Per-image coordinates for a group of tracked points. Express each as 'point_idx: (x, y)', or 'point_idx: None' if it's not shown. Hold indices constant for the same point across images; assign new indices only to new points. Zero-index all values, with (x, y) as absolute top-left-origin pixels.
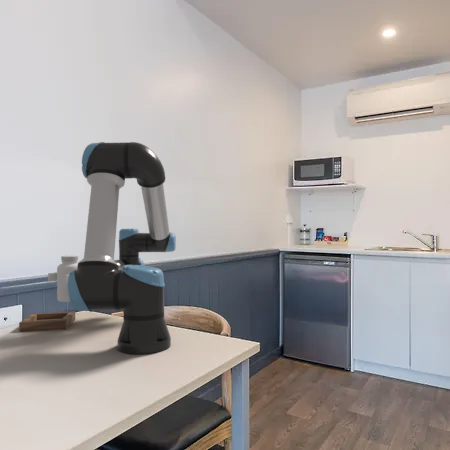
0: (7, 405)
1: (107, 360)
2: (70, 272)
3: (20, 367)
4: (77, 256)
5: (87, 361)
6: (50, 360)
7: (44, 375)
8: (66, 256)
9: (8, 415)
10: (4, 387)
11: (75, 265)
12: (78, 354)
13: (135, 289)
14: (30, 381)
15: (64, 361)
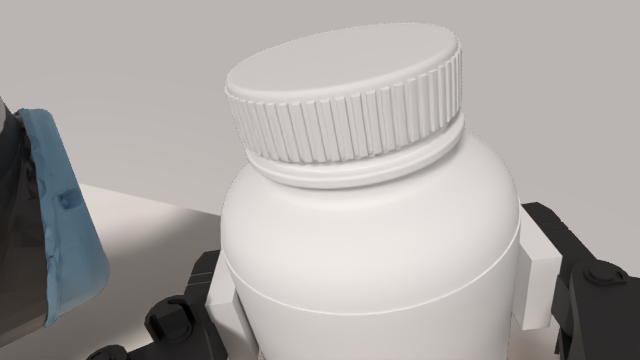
0: (108, 192)
1: (7, 354)
2: (43, 109)
3: (202, 233)
4: (231, 95)
5: (65, 321)
6: (169, 277)
7: (122, 242)
8: (292, 40)
9: (88, 188)
10: (156, 201)
11: (235, 179)
12: (121, 336)
13: None
14: (130, 223)
15: (128, 291)
